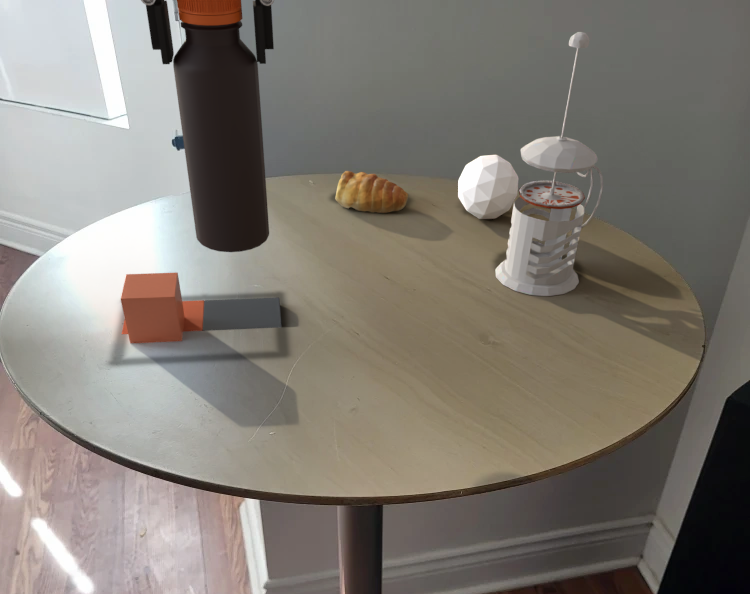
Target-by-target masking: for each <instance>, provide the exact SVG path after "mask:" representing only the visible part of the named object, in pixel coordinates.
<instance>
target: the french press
mask: <svg viewBox="0 0 750 594" xmlns="http://www.w3.org/2000/svg"><path fill="white" fill-rule="evenodd" d="M589 45H590V37H589V36H588V34H587V33H586V32H583V31H577V32H575V33H574V34H573V35H571V36H570V38H569V41H568V46H569V47H571V48H576V51H575V57H574V63H573V69H572V74H571V79H570V84H569V90H568V97H567V102H566V107H565V112H564V119H563V124H562V129H561V134H560V135H557V136H544V137H540V138H536V139H534V140H533V141H531V142H529V143H528V144H525V145H524V146H522V147H521V148H520V156H521V159H522V161H524V162H525V163H526V164H527V165H528V166H531V167H533V168H536V169H538V170H543V171H547V172H551V173H554V175H553V180H549V179H548V180H545V179H544V180H536V181H535V180H534V181H530V182H526V183H523V185H521V187H520V188H518V194H519V197H518V198H516V199H515V200H514V202H513V205H512V214H511V219H510V223H511V226H510V227H509V237H508V240H507V248H506V253H505V256H506V257H505V259H504V260H503V261H501V262H500V264H499V265H498V266H497V267H496V268H495V271H494V272H495V278H496V279H497V280H498V281H499V283H501V285H503V286H504V287H507V288H509V289H511V290H513V291H514V292H517V293H522V294H525V295H530V296H542V297H553V296H558V295H564V294H567V293H569V292H572V291H573V290H575V289H576V287H577V286H578V284H579V283H580V280H579V275H578V273H577V272H576V271H575V269H574V265H575V260H576V254H577V250H578V247H579V246H578V245H579V241H580V237H581V232H582V229H583V228H584V227H585V226H586V225H588V223H589V222H590V221H591V220H592V219H593V217H594V216H595V214H596V212H597V210H598V208H599V206H600V203H601V201H602V195H603V191H604V178H603V173H602V171H601V169H600V168H599V167H598V166H596V163H598V161H599V159H598V156H597V153H596V152H595V151H593V149H591V148H590V147H588V146H587V145H585V144H584V143H583V142H581V141H579V140H577V139H573V138H571V137H567V136H564V133H565V128H566V123H567V117H568V112H569V106H570V102H571V96H572V90H573V85H574V81H575V80H574V78H575V73H576V68H577V62H578V57H579V53H580V49H586V48H589ZM593 169H595V170H596V171H597V173H598V174H599V179H600V191H599V195H598V198H597V202H596V205H595V207H594V208H593V211H592V213H591V215H590V216H589V217H588V218H587V220H586V221H585V222H584V223H583V221H584V217H585V214H586V213H585V212H586V210H585V209H586V208H587V206H588V203H589V201H590V199H591V196H592V193H593V187H594V171H593ZM585 171H586V173H585V174H583V173H582V172H585ZM557 173H561V174H563V173H564V174H573V173H576V174H577V176H579V177H582V178H587V177H588V175H589V173H590V187H589V190H588V195H587V199H586V196H585V193H584V192H583V191H582V190H581V189H580V188H578V187H577V186H575V185H572V184H569V183H567V182H565V183H564V182H563V181H562V182H561V181H558V180H557V181H556V179H557ZM585 199H586V201H585V203H584V205H582V203H583V202H584V200H585ZM528 205H532V206H535V207H531V208H528V209H526V210H523V211H521V210H522V209H523V208H524V207H525V206H528ZM537 207H539V208H537ZM575 207H576V211H575V216H574V218H573V219H571V216H572V215H571V214H572V210H573V208H575ZM541 208H544V209H541ZM545 209H549V210H550V212H549V211H547V210H545ZM530 215H538V216H542V217H544V218H545V219H548V220H544V219H540V218H535V217H532V216H530ZM569 232H571V235H569V236H567V235H568V233H569ZM534 239H536V240H534ZM537 240H538V241H537ZM542 242H544V243H542ZM568 243H569V244H568ZM567 244H568V246H567V247H566V248H565V245H567ZM565 255H566V257H565V258H563V256H565Z"/></svg>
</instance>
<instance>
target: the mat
mask: <svg viewBox="0 0 750 594" xmlns="http://www.w3.org/2000/svg"><path fill="white" fill-rule="evenodd" d="M182 303H183V309H184V316H185V319H184V330H183V333H185V332H209V331H230V330H231V331H233V330H254V329H255V330H256V329H278V328H279V329H280V328H283V325H282V314H281V301H280V297H253V298H252V297H251V298H229V299H227V298H226V299H205V300H204V299H203V300H201V299H200V300H199V299H198V300H182ZM121 335H128V331H127V326H126V321H125V319H124V320H123V325H122V329H121Z"/></svg>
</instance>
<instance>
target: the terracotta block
mask: <svg viewBox="0 0 750 594" xmlns="http://www.w3.org/2000/svg"><path fill="white" fill-rule="evenodd" d="M179 278H180V277H179V272H155V273H154V272H151V273H127V274H125V277H124V283H123V287H122V291H121V296H120V303H121V307H122V312H123V316H124V320H125V321H126V326H127V331H128V334H127V335H128V339H129V343H130V344H149V343H150V344H151V343H152V344H153V343H171V342H172V343H174V342H175V343H177V342H183V335H184V332H183V330H184V319H185V316H184V309H183V303H182V301H183V296H182V290H181V285H180V279H179Z"/></svg>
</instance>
